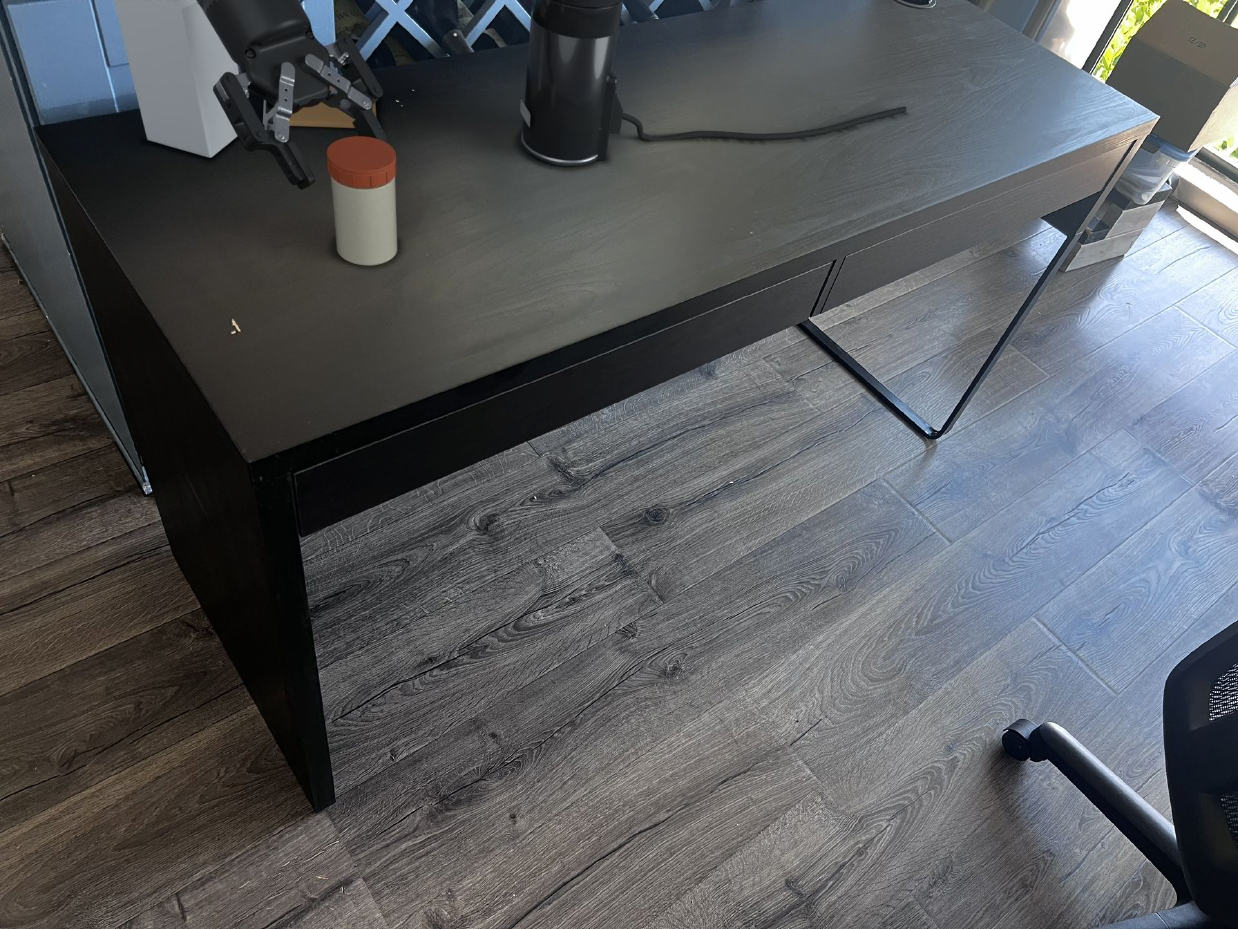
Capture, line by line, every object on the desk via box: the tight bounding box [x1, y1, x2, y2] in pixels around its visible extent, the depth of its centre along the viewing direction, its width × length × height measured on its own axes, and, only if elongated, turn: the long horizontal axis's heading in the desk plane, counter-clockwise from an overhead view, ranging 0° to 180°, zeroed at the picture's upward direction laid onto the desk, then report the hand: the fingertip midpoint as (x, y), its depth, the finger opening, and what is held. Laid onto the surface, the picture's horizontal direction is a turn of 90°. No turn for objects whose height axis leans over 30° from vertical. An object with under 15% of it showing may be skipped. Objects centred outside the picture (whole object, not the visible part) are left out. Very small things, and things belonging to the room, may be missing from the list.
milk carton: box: [113, 0, 240, 158], centre depth 91 cm, size 7×7×19 cm
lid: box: [326, 135, 397, 188], centre depth 83 cm, size 6×6×2 cm
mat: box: [289, 86, 377, 129], centre depth 106 cm, size 11×9×1 cm
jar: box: [329, 174, 398, 266], centre depth 86 cm, size 6×6×9 cm
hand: (346, 169), depth 85 cm, fingers open, 8 cm apart
